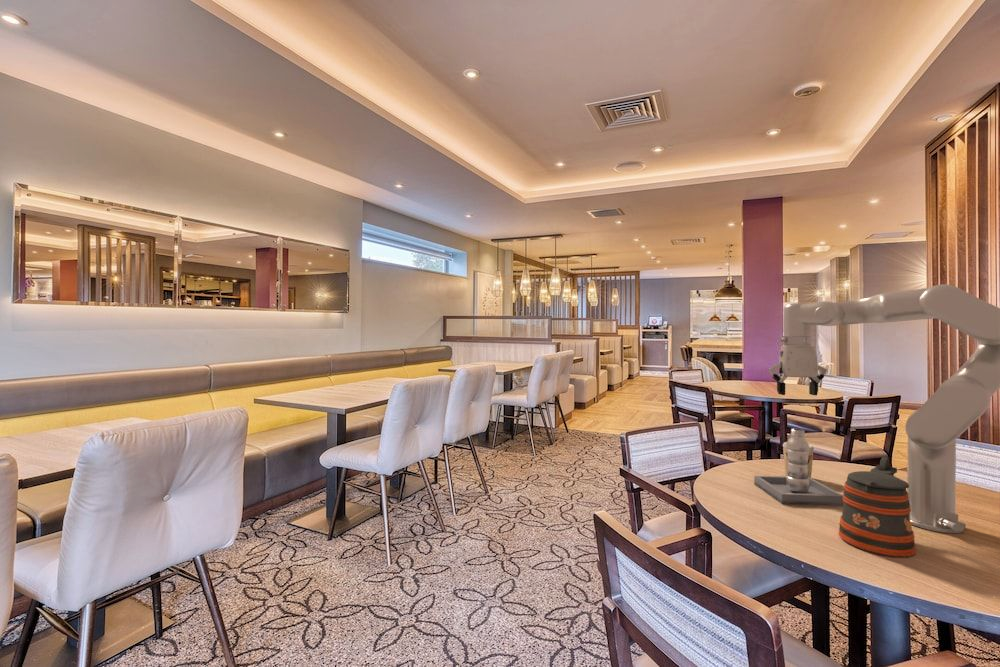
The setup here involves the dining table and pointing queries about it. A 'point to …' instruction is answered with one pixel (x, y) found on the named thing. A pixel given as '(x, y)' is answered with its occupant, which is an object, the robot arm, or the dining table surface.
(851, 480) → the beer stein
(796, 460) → the plastic bottle
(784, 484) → the tray
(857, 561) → the dining table surface
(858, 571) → the dining table surface
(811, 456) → the coffee cup
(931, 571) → the dining table surface
